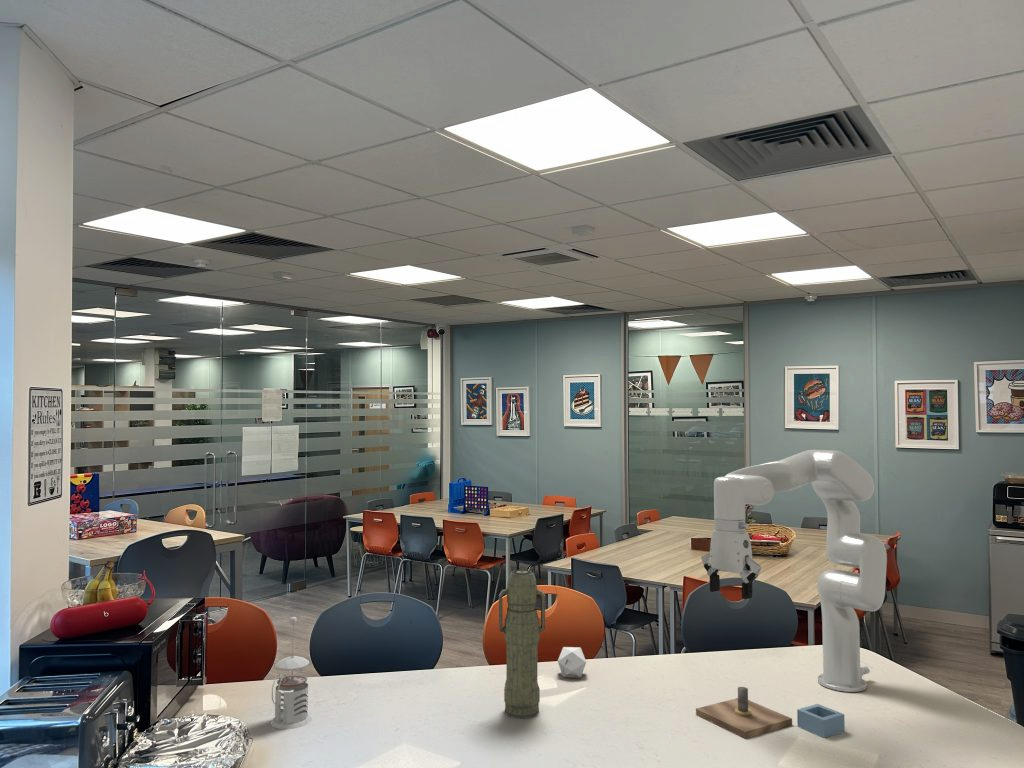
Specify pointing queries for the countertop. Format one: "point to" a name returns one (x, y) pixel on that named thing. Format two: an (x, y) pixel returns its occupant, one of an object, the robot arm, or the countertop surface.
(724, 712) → the post board
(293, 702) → the french press
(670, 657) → the countertop surface
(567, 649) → the die
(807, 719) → the slate ring
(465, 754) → the countertop surface
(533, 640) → the thermos
